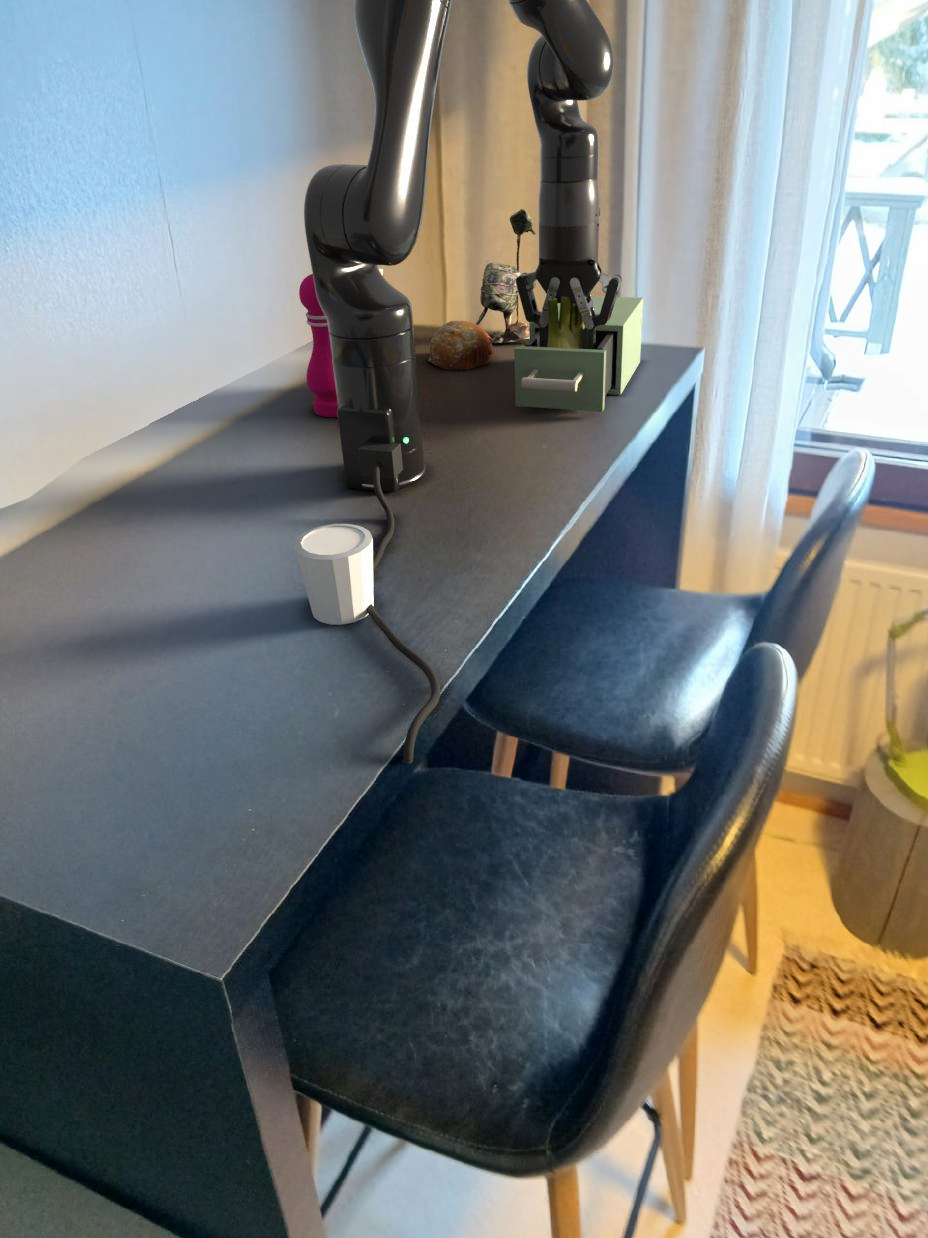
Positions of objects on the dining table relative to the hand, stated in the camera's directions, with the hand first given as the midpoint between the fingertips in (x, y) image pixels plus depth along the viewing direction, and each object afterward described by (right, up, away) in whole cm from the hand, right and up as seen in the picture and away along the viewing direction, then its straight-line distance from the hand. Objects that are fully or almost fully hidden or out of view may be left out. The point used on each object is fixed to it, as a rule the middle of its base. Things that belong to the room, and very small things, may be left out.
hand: (567, 353), depth 125 cm
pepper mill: (-32, -6, +6) cm, 33 cm away
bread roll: (-14, +5, +23) cm, 27 cm away
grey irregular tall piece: (-6, +11, +32) cm, 34 cm away
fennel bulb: (0, -4, +2) cm, 4 cm away
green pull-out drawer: (0, -5, +2) cm, 6 cm away
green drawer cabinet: (+4, 0, +13) cm, 14 cm away
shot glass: (-25, -35, -40) cm, 59 cm away
